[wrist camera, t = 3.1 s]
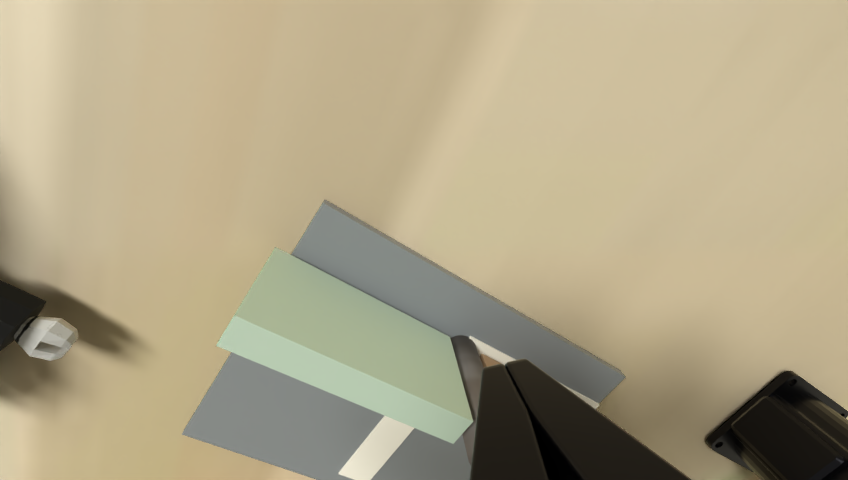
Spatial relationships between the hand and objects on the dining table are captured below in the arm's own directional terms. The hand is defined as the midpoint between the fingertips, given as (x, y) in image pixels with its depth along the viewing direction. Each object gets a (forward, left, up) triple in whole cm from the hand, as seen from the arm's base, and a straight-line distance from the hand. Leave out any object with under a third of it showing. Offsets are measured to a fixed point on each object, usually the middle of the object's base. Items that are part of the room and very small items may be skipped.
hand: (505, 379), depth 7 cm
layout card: (-5, +9, -10) cm, 14 cm away
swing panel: (+1, +5, -9) cm, 10 cm away
